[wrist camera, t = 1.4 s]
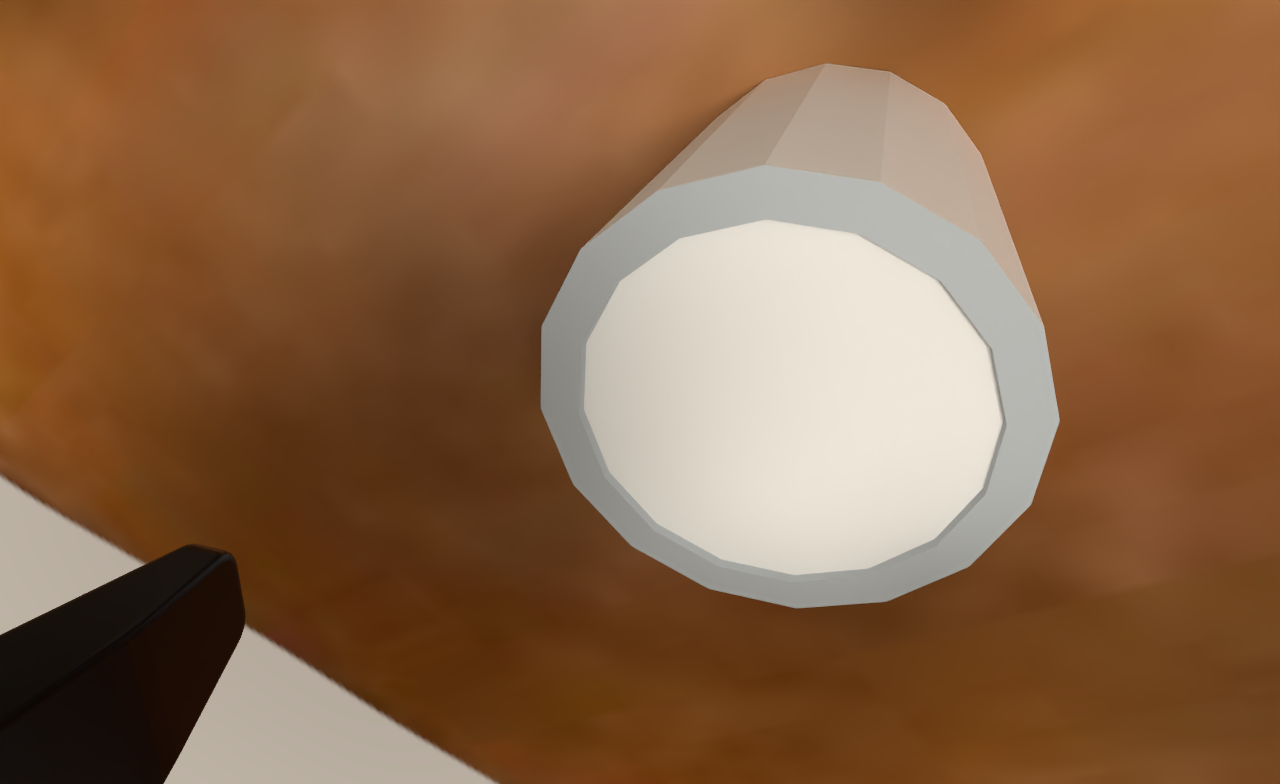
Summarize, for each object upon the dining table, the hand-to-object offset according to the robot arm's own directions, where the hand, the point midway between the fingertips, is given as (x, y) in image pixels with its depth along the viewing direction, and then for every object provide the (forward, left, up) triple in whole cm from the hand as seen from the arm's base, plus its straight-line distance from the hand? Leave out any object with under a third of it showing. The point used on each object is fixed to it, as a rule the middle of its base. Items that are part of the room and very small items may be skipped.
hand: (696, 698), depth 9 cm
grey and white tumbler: (0, 0, -13) cm, 13 cm away
